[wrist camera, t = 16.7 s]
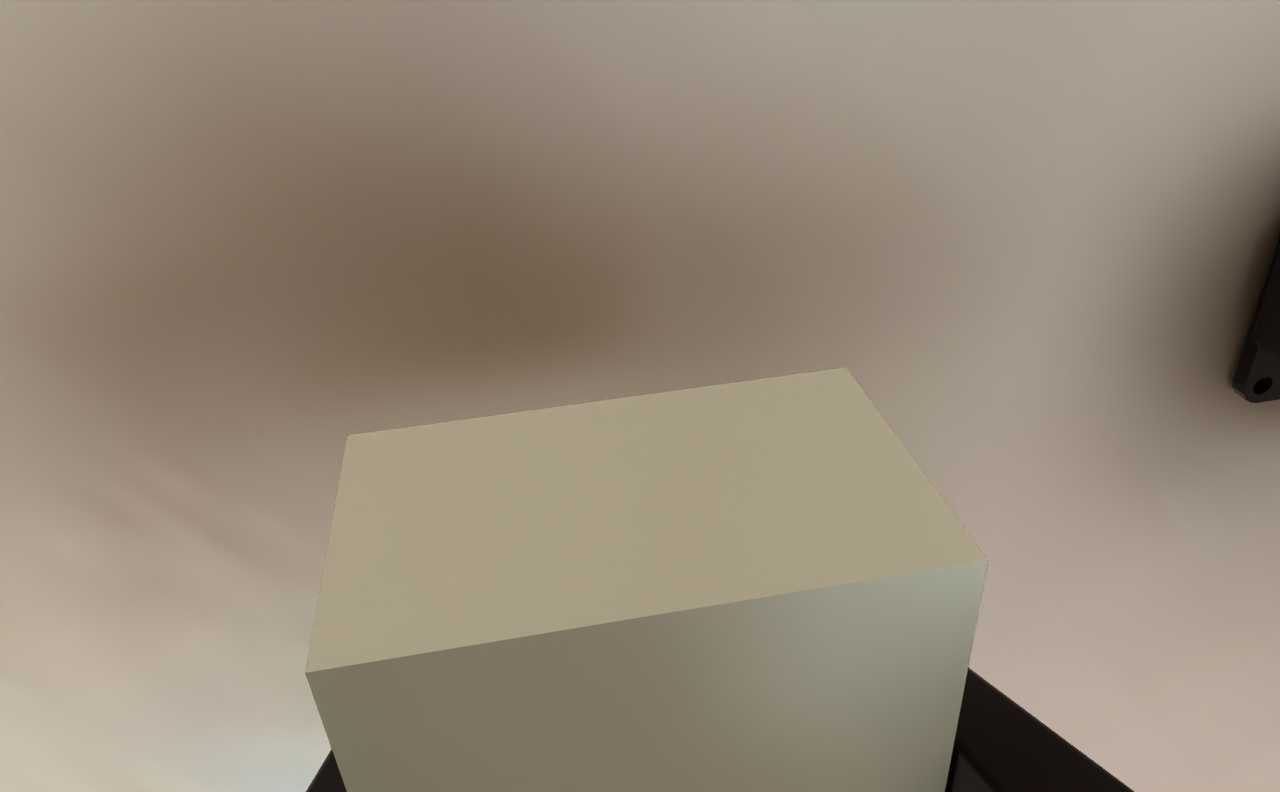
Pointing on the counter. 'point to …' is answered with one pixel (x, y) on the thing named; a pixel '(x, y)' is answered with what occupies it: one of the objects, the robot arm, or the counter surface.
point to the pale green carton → (646, 599)
